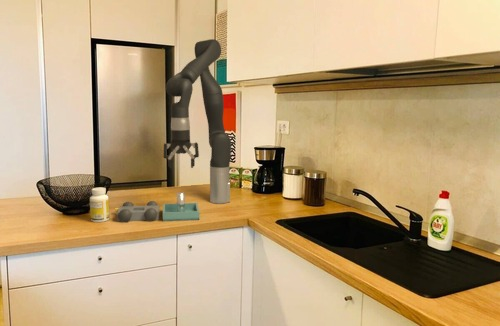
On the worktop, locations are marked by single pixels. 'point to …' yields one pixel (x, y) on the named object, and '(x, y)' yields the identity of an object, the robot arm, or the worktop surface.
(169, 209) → the tray
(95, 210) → the supplement bottle
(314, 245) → the worktop surface
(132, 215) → the trolley
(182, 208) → the pin
